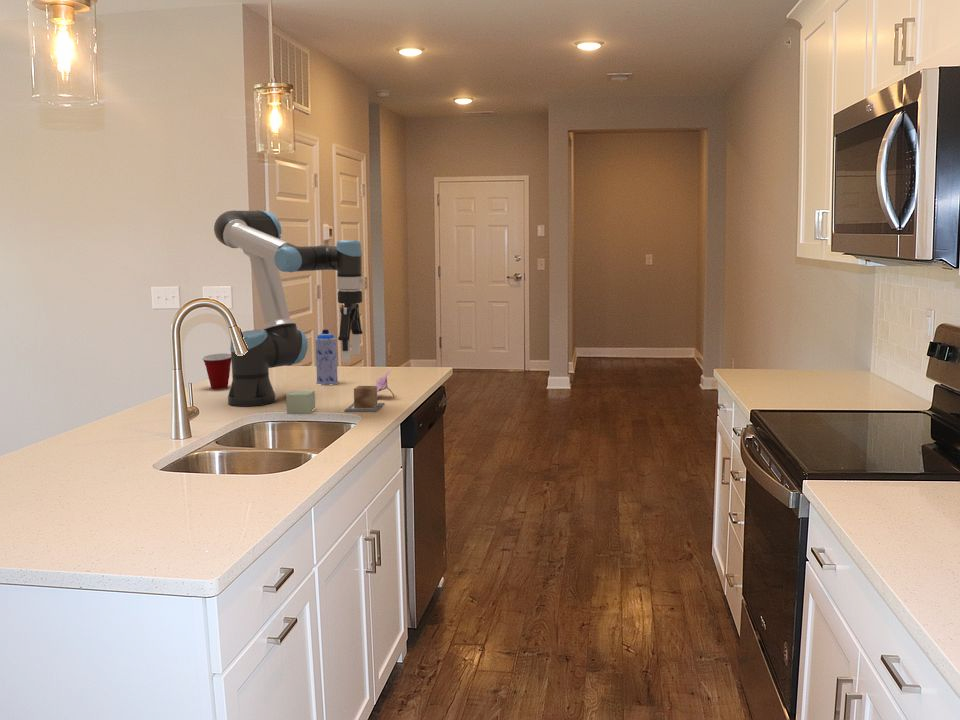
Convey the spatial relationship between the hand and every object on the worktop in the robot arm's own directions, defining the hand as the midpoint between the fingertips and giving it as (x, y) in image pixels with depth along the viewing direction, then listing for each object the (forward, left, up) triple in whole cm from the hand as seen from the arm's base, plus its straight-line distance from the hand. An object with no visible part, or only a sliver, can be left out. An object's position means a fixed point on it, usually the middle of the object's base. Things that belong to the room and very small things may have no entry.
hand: (351, 358), depth 279 cm
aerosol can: (-21, +46, -16) cm, 53 cm away
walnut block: (+4, 0, -15) cm, 16 cm away
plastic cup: (-58, +35, -16) cm, 70 cm away
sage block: (-15, -5, -16) cm, 23 cm away
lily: (+5, +19, -16) cm, 26 cm away
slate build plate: (+4, +1, -16) cm, 16 cm away
